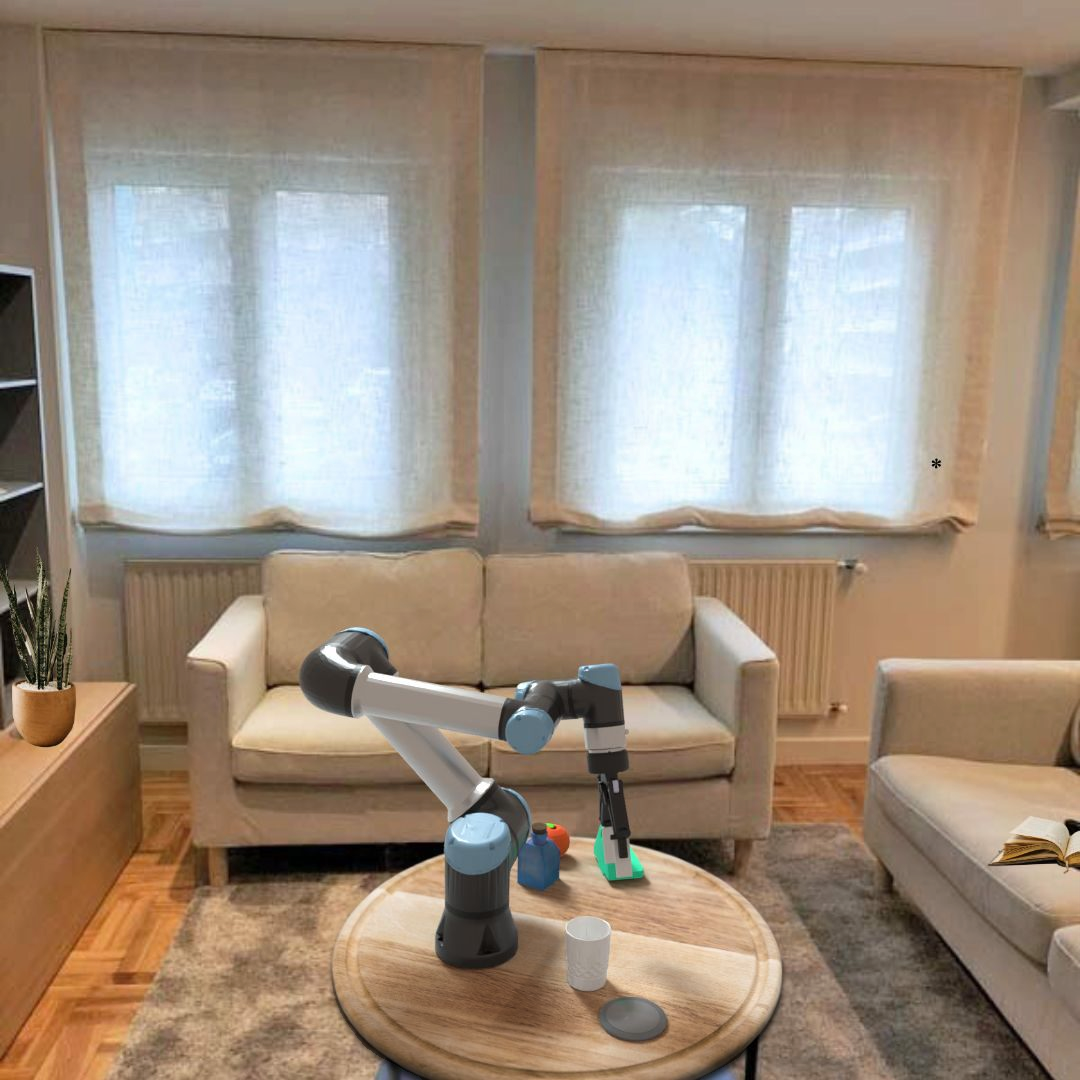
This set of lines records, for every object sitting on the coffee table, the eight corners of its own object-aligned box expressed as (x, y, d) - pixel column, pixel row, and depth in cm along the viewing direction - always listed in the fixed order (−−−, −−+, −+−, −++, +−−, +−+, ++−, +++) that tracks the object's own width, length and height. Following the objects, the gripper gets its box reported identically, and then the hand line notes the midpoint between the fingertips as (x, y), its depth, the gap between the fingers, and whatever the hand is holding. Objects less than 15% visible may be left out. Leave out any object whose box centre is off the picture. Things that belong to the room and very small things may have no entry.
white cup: (582, 962, 202) (583, 911, 200) (618, 979, 198) (620, 926, 196) (554, 981, 196) (555, 929, 194) (591, 999, 192) (592, 945, 190)
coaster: (589, 1029, 184) (589, 1025, 184) (613, 993, 193) (613, 989, 193) (653, 1048, 179) (653, 1044, 179) (675, 1010, 189) (675, 1006, 189)
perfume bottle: (559, 878, 232) (560, 824, 229) (543, 891, 227) (544, 835, 224) (533, 870, 235) (534, 816, 233) (517, 882, 230) (518, 827, 227)
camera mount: (644, 882, 231) (646, 835, 229) (608, 885, 230) (609, 838, 228) (628, 854, 243) (629, 810, 241) (593, 857, 241) (595, 812, 239)
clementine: (526, 854, 242) (526, 823, 240) (548, 844, 247) (548, 813, 245) (554, 867, 236) (555, 835, 235) (576, 856, 241) (577, 825, 240)
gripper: (639, 753, 193) (652, 880, 191) (616, 742, 218) (627, 855, 216) (595, 757, 193) (608, 885, 191) (577, 746, 217) (588, 859, 215)
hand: (618, 869), depth 203 cm, fingers open, 13 cm apart
